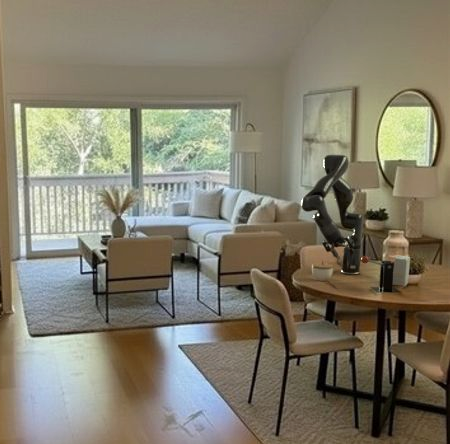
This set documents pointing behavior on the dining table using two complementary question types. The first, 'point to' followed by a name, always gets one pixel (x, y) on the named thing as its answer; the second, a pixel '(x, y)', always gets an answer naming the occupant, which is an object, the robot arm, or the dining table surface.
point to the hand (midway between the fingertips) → (345, 255)
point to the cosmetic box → (401, 270)
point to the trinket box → (322, 271)
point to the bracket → (386, 278)
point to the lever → (366, 260)
